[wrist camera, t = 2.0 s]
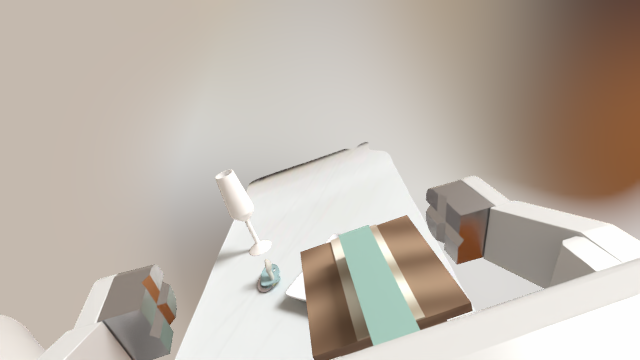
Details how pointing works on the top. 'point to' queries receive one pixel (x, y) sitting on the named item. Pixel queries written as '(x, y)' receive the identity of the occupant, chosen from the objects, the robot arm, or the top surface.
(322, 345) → the stand
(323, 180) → the top surface
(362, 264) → the bar
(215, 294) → the top surface
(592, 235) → the robot arm
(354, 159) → the top surface
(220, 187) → the champagne flute
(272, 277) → the pacifier
